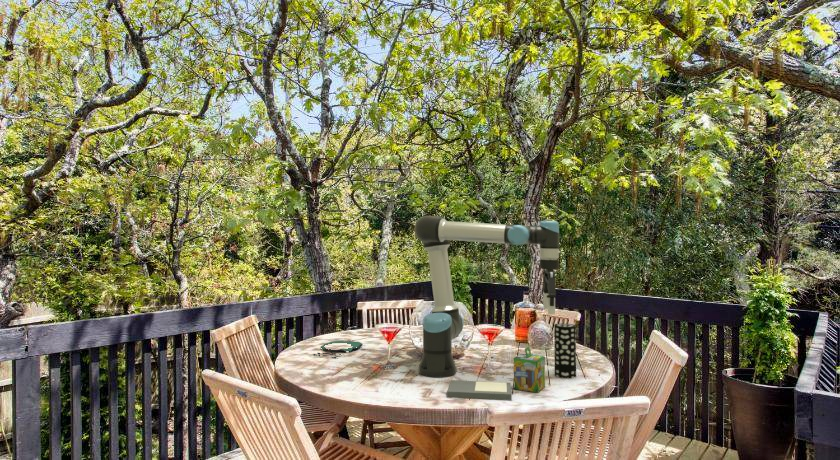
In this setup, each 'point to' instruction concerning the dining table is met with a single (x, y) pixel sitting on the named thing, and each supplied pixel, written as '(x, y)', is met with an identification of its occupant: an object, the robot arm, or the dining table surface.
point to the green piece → (353, 343)
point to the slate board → (480, 390)
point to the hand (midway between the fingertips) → (549, 311)
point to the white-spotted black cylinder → (565, 350)
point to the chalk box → (529, 372)
